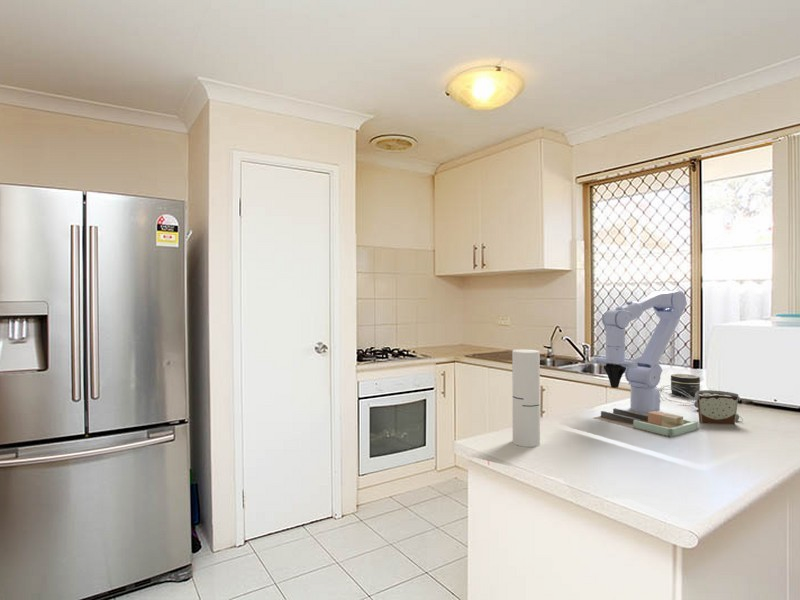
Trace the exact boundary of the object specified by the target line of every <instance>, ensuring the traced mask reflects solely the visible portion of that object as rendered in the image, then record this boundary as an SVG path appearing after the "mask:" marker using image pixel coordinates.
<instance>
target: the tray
mask: <svg viewBox="0 0 800 600" xmlns="http://www.w3.org/2000/svg"><path fill="white" fill-rule="evenodd" d="M698 426H699V422H698V421H694V420H691V419H685V418H683V425H679V426H676V427H672V428H667V427H663V426H658V425H654V424H650V423H646V422H642V421H637V420H633V427H634V428H638V429H642V430H646V431H650V432H654V433H658V434H662V435H666V436H670V438H673V437H676V435H677V436H680V435H682V434H686V432H687V433H690V432H692V431H696V429H697V430H699V429H698V428H699V427H698ZM634 428H633V429H634ZM689 431H690V432H689ZM679 434H680V435H679Z"/></svg>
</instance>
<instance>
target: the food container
mask: <svg viewBox="0 0 800 600" xmlns="http://www.w3.org/2000/svg"><path fill="white" fill-rule="evenodd" d="M693 400H697V405H698V408H697V413H698V421H699V422H698V423H700V424H714V425H716V424H717V425H718V424H719V425H720V424H721V425H736V422H737V421H736V414H738V412H737V411H738V403H739V402H741V398H740V396H739V394H738V393H735V392H728V391H724V390H710V389H706V390H705V389H700V391H697V392H696V394H695V397H693Z"/></svg>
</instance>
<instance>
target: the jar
mask: <svg viewBox="0 0 800 600" xmlns="http://www.w3.org/2000/svg"><path fill="white" fill-rule="evenodd" d="M673 386H674V387H673ZM670 387H671V388H670V389H672V388H673V390H670V391H671V394H672V395H673V396H674V395H675V396H676V395H677V396H678V397H682V396H683V397H682V398H689V396H690V398H692V397H693V398H695V394H696V392H697V391H701V377H700V376H699V375H695V374H686V373H674V374H671V375H670ZM676 387H677V388H676ZM678 388H679V389H678ZM674 389H675V390H674ZM680 389H681V390H680ZM676 390H677V391H676ZM682 390H683V391H682ZM678 391H680V392H682V393H683V394H682V393H680V392H678ZM685 392H686V393H685ZM684 394H686V395H684ZM688 394H689V395H688ZM687 395H688V397H687ZM677 396H676V397H677ZM691 396H692V397H691Z"/></svg>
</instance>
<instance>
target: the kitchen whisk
mask: <svg viewBox="0 0 800 600" xmlns="http://www.w3.org/2000/svg"><path fill="white" fill-rule="evenodd" d="M666 387H667V388H666ZM673 387H674V386H673ZM660 388H661V389H658V390H659V392H660V400H661V399H662V401H663V402H665V400H668V402H669V401H670V402H673V400H671V399H668V398H667V397H665V395H664V394H667V395H669V396H672V397H675V398H678V399H681V400H683V401H687V402H685V404H683V402H682V401H681V402H680V401H679V403H680V406H683V407H684V406H685V407H694V408H696V409H698V405H697V400H695V399H694V397H692V396H691V397H690V396H689V397H688V395H689V394H688V395H687V397H686V398H689V399H691V400H692V401H691V400H689V399H685V397H682V396H676V395H674V394H673V393H669V392H667V391H666V390H668V391H669V390H670V391H671V390H673V388H672V389H671V386H670V385H665V386H662V385H661V386H660ZM663 388H666V389H663ZM676 388H677V387H676ZM678 389H679V388H678ZM674 390H675V389H674ZM680 390H681V389H680ZM665 391H666V392H665ZM676 391H677V390H676ZM682 391H683V390H682ZM678 392H680V391H678ZM663 393H664V394H663ZM680 393H682V392H680ZM685 393H686V392H685ZM661 394H662V396H663V397H662V396H661ZM682 394H683V393H682ZM684 395H686V394H684ZM674 402H676V403H678V401H676V400H674ZM688 402H689V403H691V404H689V403H688ZM682 404H683V405H682ZM739 419H740V415H739V414H738V413H736V422H737V421H739ZM743 421H744V419H743V418H741V421H740V423H742V422H743Z"/></svg>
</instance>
